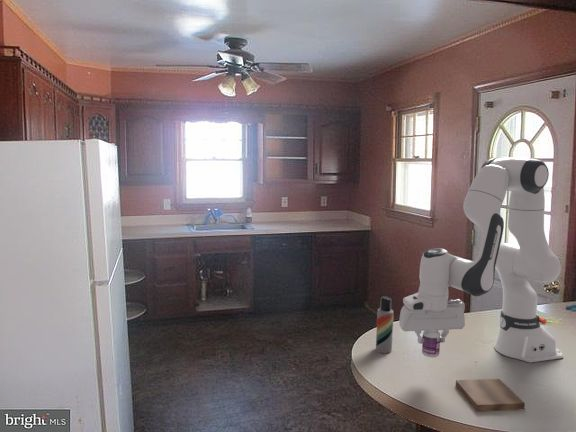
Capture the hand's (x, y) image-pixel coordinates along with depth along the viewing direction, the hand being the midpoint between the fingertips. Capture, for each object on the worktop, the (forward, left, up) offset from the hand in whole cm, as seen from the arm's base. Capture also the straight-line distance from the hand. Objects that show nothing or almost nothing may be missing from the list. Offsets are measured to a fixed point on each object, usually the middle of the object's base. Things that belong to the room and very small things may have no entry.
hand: (431, 342), depth 151 cm
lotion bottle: (+8, -22, -13) cm, 27 cm away
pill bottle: (0, 0, -4) cm, 4 cm away
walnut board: (-14, +12, -12) cm, 22 cm away
